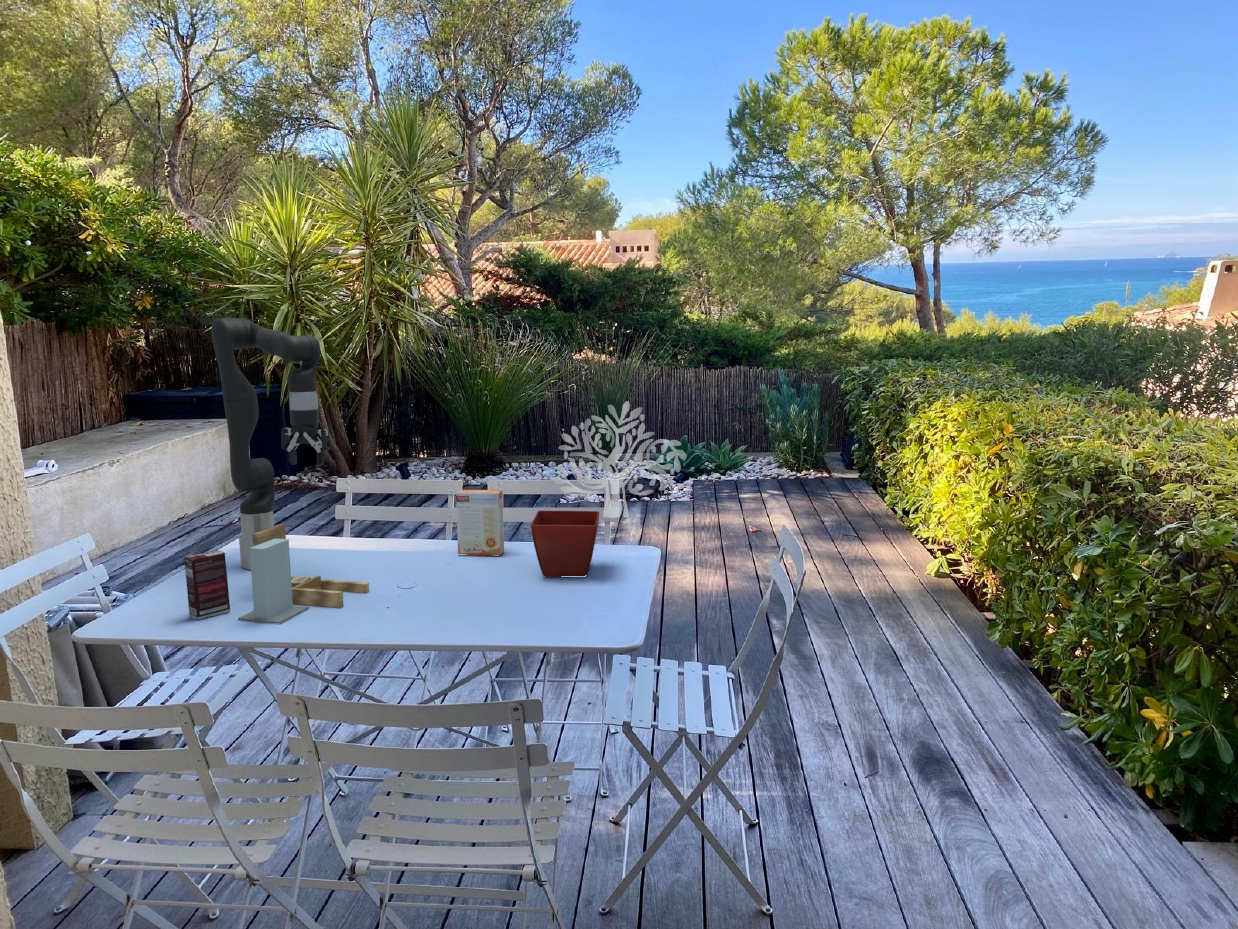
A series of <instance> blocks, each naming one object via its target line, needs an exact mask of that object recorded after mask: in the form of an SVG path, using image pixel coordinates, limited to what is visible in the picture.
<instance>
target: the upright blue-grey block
mask: <svg viewBox="0 0 1238 929" xmlns="http://www.w3.org/2000/svg"><path fill="white" fill-rule="evenodd" d="M289 541H290V540H289V539H287V538H286V539H272V540H270V541H267V542H264V543H262V544H259V545H256V546H254V547H251V548H250V561H251V570H250V572H251V574H250V575H251V587H252V588H251V589H252V598H253V599H252V602H253V603H252V604H253V610H254V618H261V619H270V618H272V617H274V616H276V615H278V614H280V613H282V612H283V611H285V610H287V609H289V608H291V607H293V605H294V604H293V601H292V585H291V577H292V574H291V570H292V569H291V556H290V542H289Z"/></svg>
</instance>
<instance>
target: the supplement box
mask: <svg viewBox="0 0 1238 929" xmlns="http://www.w3.org/2000/svg"><path fill="white" fill-rule="evenodd" d="M183 558H184V559H183V561H184V570H185V581H186V582H185V583H186V592H187V604H188V612H189V613H188V614H189V617H190V618H192V617H193V618H192V619H194V618H195V619H194V620H196V619H201V620H204V619H203V618H205V619H207V618H206V617H208V618H210V617H209V616H212V617H216V616H218V615H224V614H226V613H227V614H228V613H229V612H230V611H231V606H230V596H229V594H230V593H229V582H228V572H227V562H226V560H227V559H226V552H224V551H221V550H217V549H216V550H211V551H204V552H200V553H197V554H191V555H186V556H184V557H183Z"/></svg>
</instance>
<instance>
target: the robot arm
mask: <svg viewBox="0 0 1238 929" xmlns="http://www.w3.org/2000/svg"><path fill="white" fill-rule="evenodd" d="M210 330H211V339H212V340H211V341H212V344H213V345H212V346H213V350H214V353H215V357H216V362H217V365H218V371H219V376H220V382H221V383H220V384H221V389H222V398H223V399H222V400H223V405H224V406H223V407H224V413H225V418H226V425H227V432H228V433H227V434H228V440H229V461H230V462H229V463H230V464H229V467H230V476H231V480H232V484H233V486H234V487H235V489H236V490H238V491H239V492H243V493H244V492H250V491H251V493H250V495H249V496H248V497H247V498H246V499H244V500H243V501H242V502H241V503H240V504H239V512H240V513H239V514H240V515H239V516H240V526H241V527H240V528H241V536H239V537H238V541H239V544H238V545H239V556H240V558H239V559H240V568H243V569H244V570H245V569H246V570H248V571H249V570H250V571H251V561H250V548H251V547H253V535H252V534H254V533H257V532H259V531H262V530H265V529H268V528H271V527H274V526H275V519H274V502H275V500H276V499H275V498H276V496H275V494H276V492H275V487H276V486H275V483H276V482H275V481H276V480H275V470H274V468H273V465H272V462H270V460H269V459H267V458H264V457H258V458H256V457H255V458H251V457H250V456H251V455H250V454H251V453H250V442H251V439H252V436H253V433H254V431H255V429H256V427H257V423H258V421H259V416H260V412H259V411H260V409H259V402H258V396H257V392H256V390H255V388H254V386H253V384H252V383H251V382H250V381H249V379H247V378H246V376H245V375H244V374H243V372H242V371H241V370H240V368H239V366H238V364H237V361H236V358H235V352H234V350H235V351H236V350H245V349H254V348H258V349H260V350H261V351H262V352H264V354H265V353H266V354H268V355H272V356H276V357H279V358H280V359H282V360H283V361H287V362H301V364H300V366H299V368H297V369H295V370H291V371H290V372H289V374H288V388H289V395H288V396H289V397H288V400H289V401H288V403H289V404H288V406H289V422H290V425H291V428H290V427H288V426H287V427H283V428H281V430H280V436H281V437H280V440H281V442H280V444H281V445H280V446H281V447H280V448H281V449H282V450H285V451H287V453H288V462H289V464H290V465H291V466H294V465H297V464H298V455H297V452H298V451H296V450H297V448H298V446H299V445H303V444H304V445H311V447H312V448H314V449H315V451H316V466H317V467H322V466H324V465H325V463H326V454H325V453H326V451H329V450H332V445H331V444H332V443H331V434H330V429H329V428H323V429H320V428H319V423H320V417H319V416H320V415H319V400H318V399H319V398H318V394H317V381H316V380H317V379H316V377H317V376H316V375H317V372H318V368H319V363H320V359H321V352H322V351H321V349H322V348H321V345H320V342H319V341H318V338H316V337H315V336H313V335H291V334H290V333H288V332H284V331H281V330H276V329H270V328H266V327H263V326H261V325H259V324H257V323H256V322H255V323H254V322H253V321H250V320H249V319H246V318H242V317H237V318H236V317H231V318H229V317H222V318H216V319H215V320H214V321H212V324H211V329H210ZM291 435H292V436H293V437H292V439H291ZM319 437H320V438H319Z"/></svg>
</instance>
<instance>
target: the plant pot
mask: <svg viewBox="0 0 1238 929" xmlns="http://www.w3.org/2000/svg"><path fill="white" fill-rule="evenodd" d="M599 519H600V511H597V510H537V512H536V514H535V516H534V517H533V520H532V521H531V523H530V528H531V536H532V542H533V547H534V549H535V555H536V558H537V561H538V565H539V568H540V571H541V574H542V576H543V577H544V576H545V577H544V578H562V577H561V576H585V575H587V576H588V574H589V570H590V567H591V564H592V559H593V556H594V549H595V545H596V544H595V543H596V539H597V533H598V527H599V521H600V520H599Z"/></svg>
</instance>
